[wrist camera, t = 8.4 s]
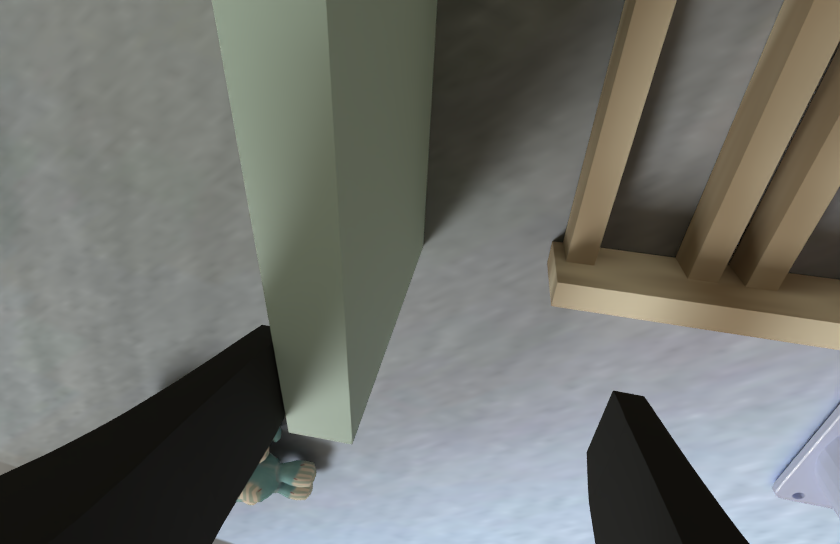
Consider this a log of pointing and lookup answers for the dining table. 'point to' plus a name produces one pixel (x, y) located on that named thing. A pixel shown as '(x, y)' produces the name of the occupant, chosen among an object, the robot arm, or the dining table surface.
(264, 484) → the stuffed animal
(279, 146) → the large sage green box
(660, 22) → the offcut rack
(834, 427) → the robot arm
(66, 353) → the dining table surface
